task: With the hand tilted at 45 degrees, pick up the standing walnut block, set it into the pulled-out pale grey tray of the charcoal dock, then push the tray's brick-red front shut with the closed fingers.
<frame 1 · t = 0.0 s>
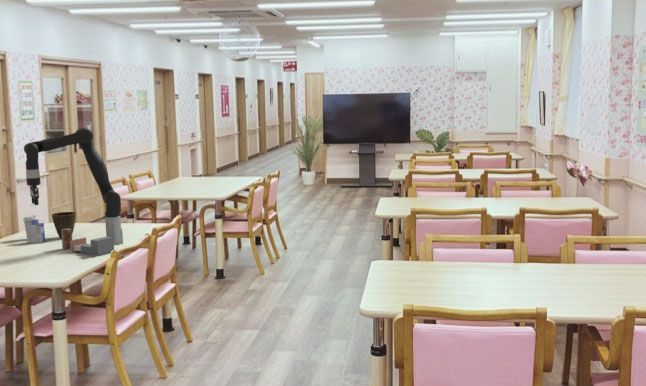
hand: (35, 204, 428), 29 cm above the table, tool pointing down, fingers open, 8 cm apart
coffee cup: (32, 239, 477), on the table
dock tray: (83, 244, 434), point 4 cm above the table, slide at 8.0 cm
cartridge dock: (93, 252, 430), on the table
plant pot: (65, 237, 479), on the table
ink cartridge box: (36, 242, 465), on the table
walnut block: (67, 248, 443), on the table
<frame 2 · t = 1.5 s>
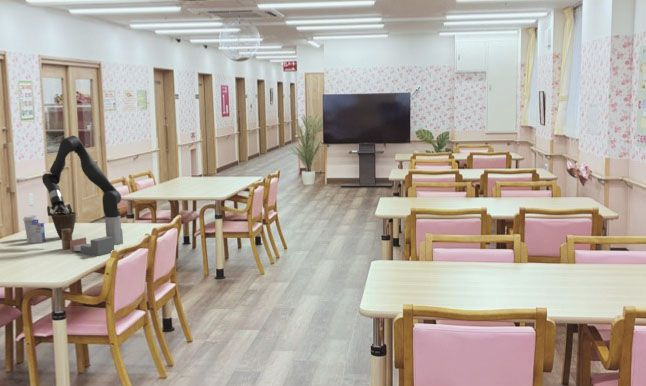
hand: (61, 219, 449), 17 cm above the table, tool tilted 45°, fingers open, 8 cm apart
nothing on the table moved.
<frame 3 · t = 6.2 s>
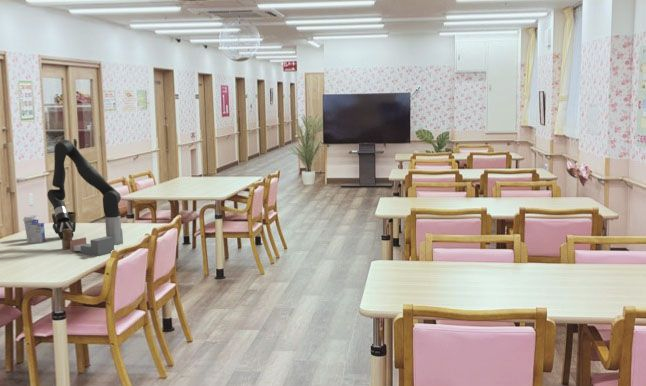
hand: (67, 237, 441), 7 cm above the table, tool tilted 45°, fingers closed on walnut block, 5 cm apart
walnut block: (67, 248, 443), on the table, touching gripper
everything else where it was.
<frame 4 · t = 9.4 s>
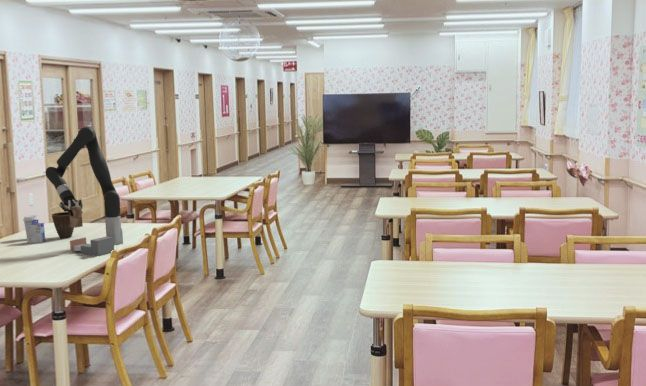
hand: (77, 214, 431), 22 cm above the table, tool tilted 45°, fingers closed on walnut block, 5 cm apart
walnut block: (76, 226, 433), point 15 cm above the table, touching gripper
everything else where it was.
when the fingers open (11 cm above the table, at t = 12.8 s): walnut block drops 2 cm, resting on dock tray.
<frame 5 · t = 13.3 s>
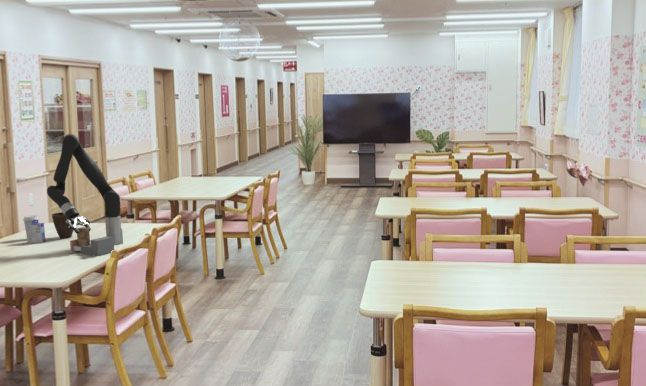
hand: (84, 231, 432), 12 cm above the table, tool tilted 45°, fingers open, 8 cm apart
dock tray: (83, 244, 434), point 4 cm above the table, slide at 7.9 cm, touching walnut block
walnut block: (84, 247, 434), point 2 cm above the table, touching dock tray
everything else where it was.
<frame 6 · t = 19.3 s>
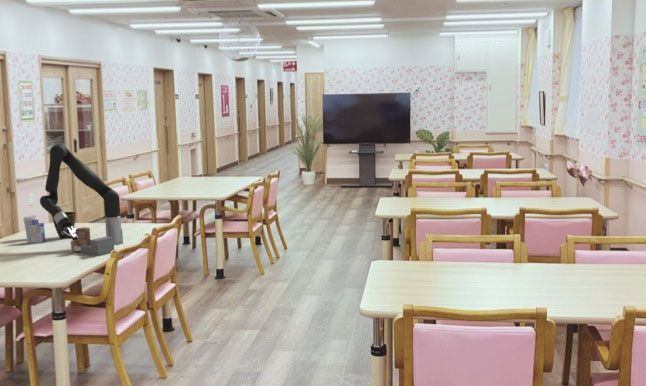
hand: (77, 242, 436), 5 cm above the table, tool tilted 45°, fingers closed
dock tray: (84, 244, 434), point 4 cm above the table, slide at 7.4 cm, touching gripper, walnut block
everything else where it was.
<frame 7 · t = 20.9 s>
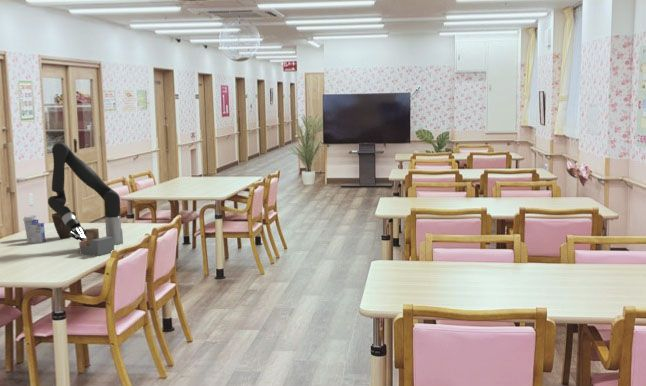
hand: (86, 243, 433), 5 cm above the table, tool tilted 45°, fingers closed
dock tray: (92, 245, 430), point 4 cm above the table, slide at -0.1 cm, touching gripper, walnut block
walnut block: (93, 249, 430), point 2 cm above the table, touching dock tray
everything else where it was.
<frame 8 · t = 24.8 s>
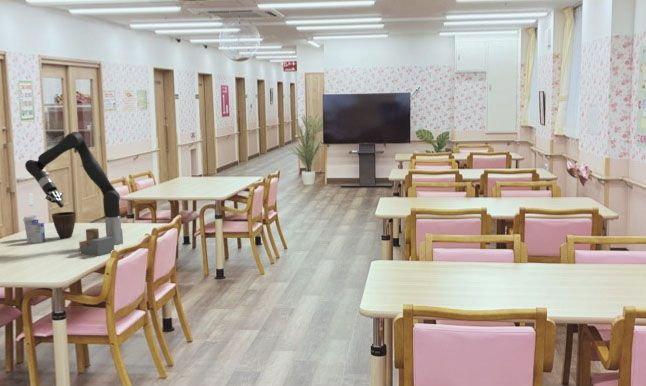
hand: (62, 206, 441), 26 cm above the table, tool tilted 45°, fingers closed
dock tray: (92, 245, 430), point 4 cm above the table, slide at 0.0 cm, touching walnut block
everything else where it was.
at the end: dock tray slide at 0.0 cm; walnut block inside the target area on the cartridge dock (0.1 cm from its centre), point 2.0 cm above the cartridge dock's base; walnut block tilted 0° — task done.
